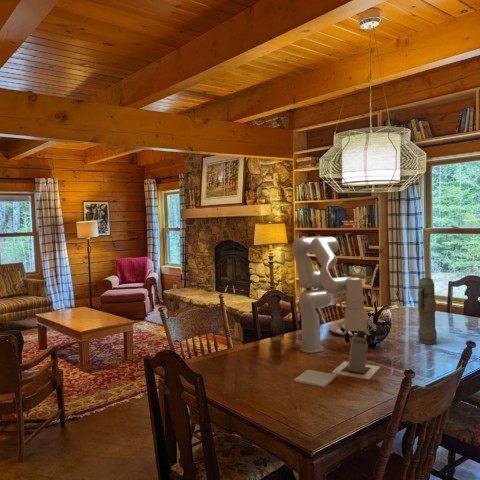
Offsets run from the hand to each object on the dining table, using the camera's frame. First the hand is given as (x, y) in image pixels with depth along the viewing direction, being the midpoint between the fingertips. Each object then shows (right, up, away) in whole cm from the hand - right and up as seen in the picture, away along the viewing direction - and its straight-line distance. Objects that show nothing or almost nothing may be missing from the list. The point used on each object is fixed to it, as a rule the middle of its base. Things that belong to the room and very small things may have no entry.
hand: (358, 343), depth 195 cm
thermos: (+48, -9, +40) cm, 63 cm away
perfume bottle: (0, -13, +3) cm, 13 cm away
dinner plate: (+15, -10, +67) cm, 69 cm away
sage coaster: (-20, -14, -6) cm, 25 cm away
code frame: (0, -13, +3) cm, 13 cm away
